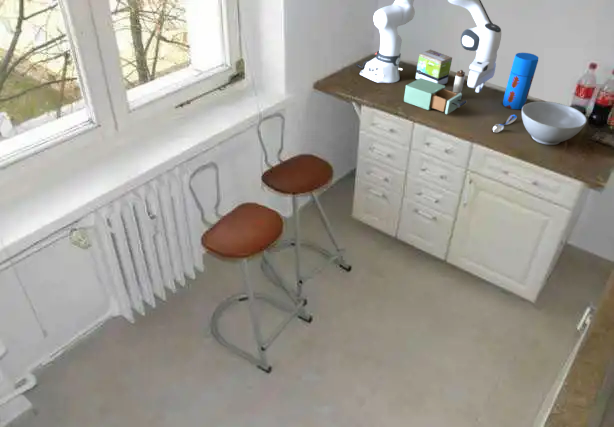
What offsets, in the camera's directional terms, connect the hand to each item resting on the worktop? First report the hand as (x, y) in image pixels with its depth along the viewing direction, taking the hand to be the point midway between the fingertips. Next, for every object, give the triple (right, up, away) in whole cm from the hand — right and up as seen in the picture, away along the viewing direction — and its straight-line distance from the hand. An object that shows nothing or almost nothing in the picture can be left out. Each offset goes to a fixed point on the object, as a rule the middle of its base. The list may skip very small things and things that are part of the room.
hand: (478, 91), depth 242 cm
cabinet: (-21, 0, +22) cm, 31 cm away
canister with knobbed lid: (-2, +4, +28) cm, 29 cm away
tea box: (-11, +16, +44) cm, 49 cm away
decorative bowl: (+29, -23, -6) cm, 37 cm away
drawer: (-11, -4, +15) cm, 20 cm away
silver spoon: (+14, -15, +4) cm, 21 cm away
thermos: (+25, -2, +22) cm, 34 cm away
